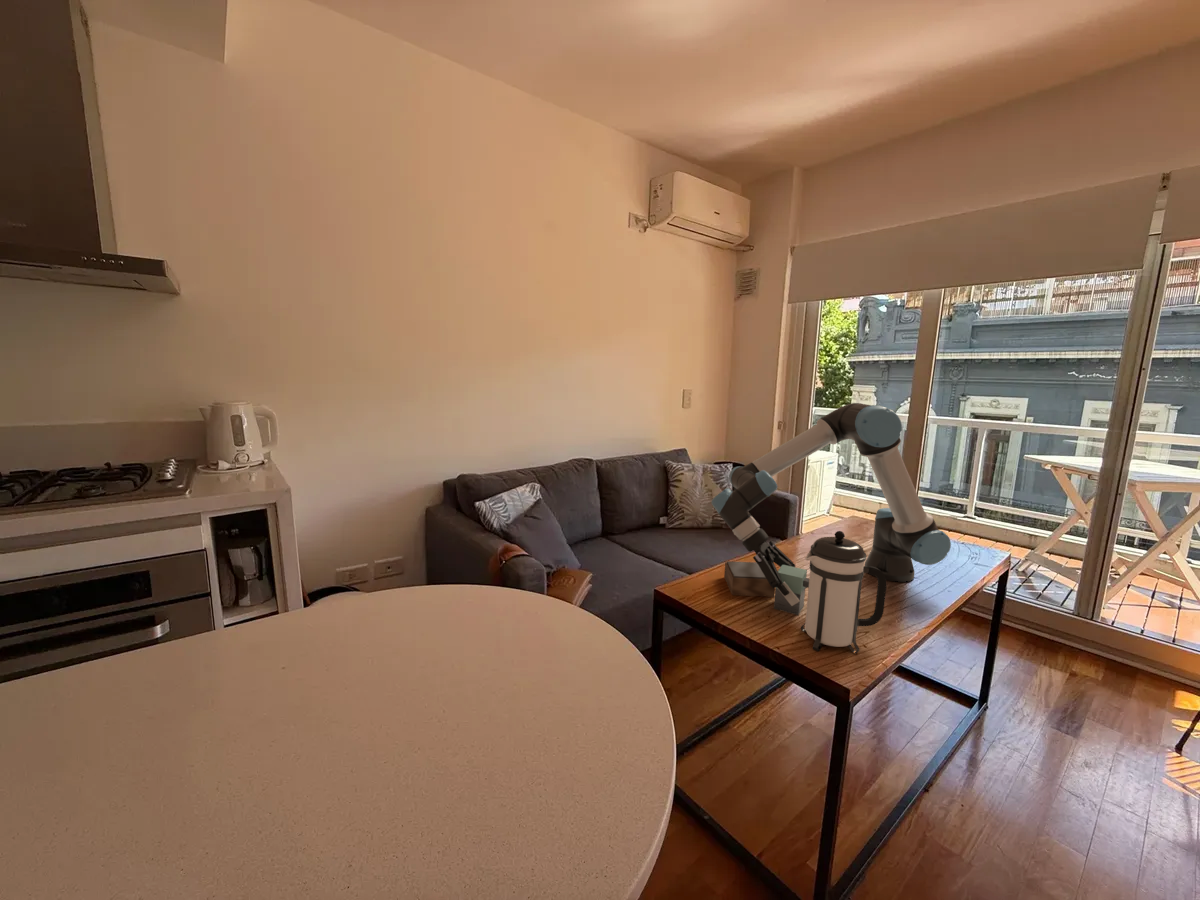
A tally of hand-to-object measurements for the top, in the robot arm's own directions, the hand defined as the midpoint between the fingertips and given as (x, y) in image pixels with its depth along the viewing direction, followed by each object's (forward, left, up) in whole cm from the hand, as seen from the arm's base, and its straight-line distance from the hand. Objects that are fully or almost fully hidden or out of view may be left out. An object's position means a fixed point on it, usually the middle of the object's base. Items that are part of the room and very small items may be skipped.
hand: (800, 596), depth 147 cm
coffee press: (-3, +16, -5) cm, 17 cm away
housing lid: (+2, -1, +2) cm, 4 cm away
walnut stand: (+11, -14, -4) cm, 19 cm away
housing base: (+2, -1, -4) cm, 5 cm away
